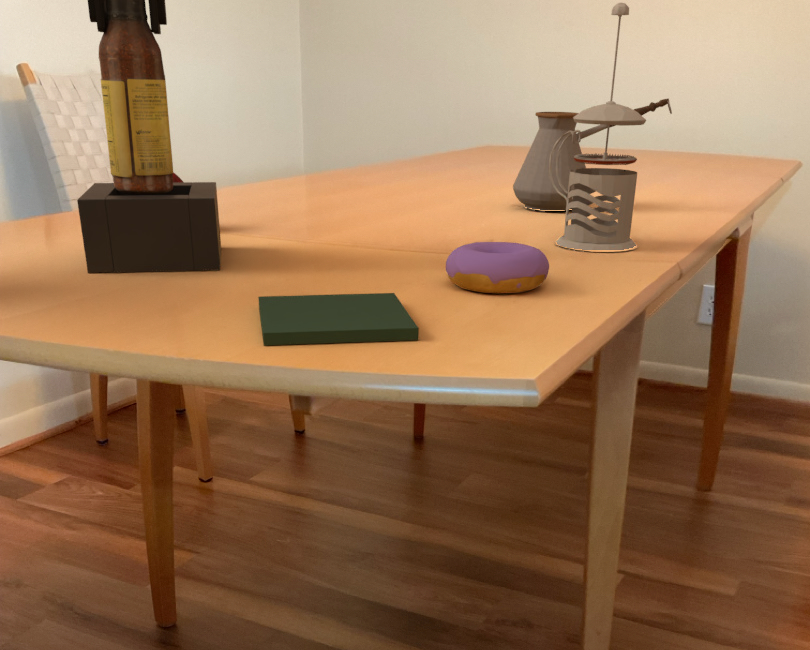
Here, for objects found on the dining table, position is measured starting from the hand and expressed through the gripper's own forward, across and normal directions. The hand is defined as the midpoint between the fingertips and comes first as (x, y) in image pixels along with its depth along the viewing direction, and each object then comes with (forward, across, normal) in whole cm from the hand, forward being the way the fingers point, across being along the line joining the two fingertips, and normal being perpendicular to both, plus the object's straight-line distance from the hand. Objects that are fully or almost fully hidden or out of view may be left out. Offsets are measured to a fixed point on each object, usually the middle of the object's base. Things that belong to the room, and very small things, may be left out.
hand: (129, 30), depth 88 cm
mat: (+21, -17, +29) cm, 40 cm away
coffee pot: (+21, -60, -31) cm, 70 cm away
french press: (+21, -51, -4) cm, 55 cm away
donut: (+21, -34, +17) cm, 43 cm away
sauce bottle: (+15, 0, 0) cm, 15 cm away
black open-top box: (+22, -1, 0) cm, 22 cm away
